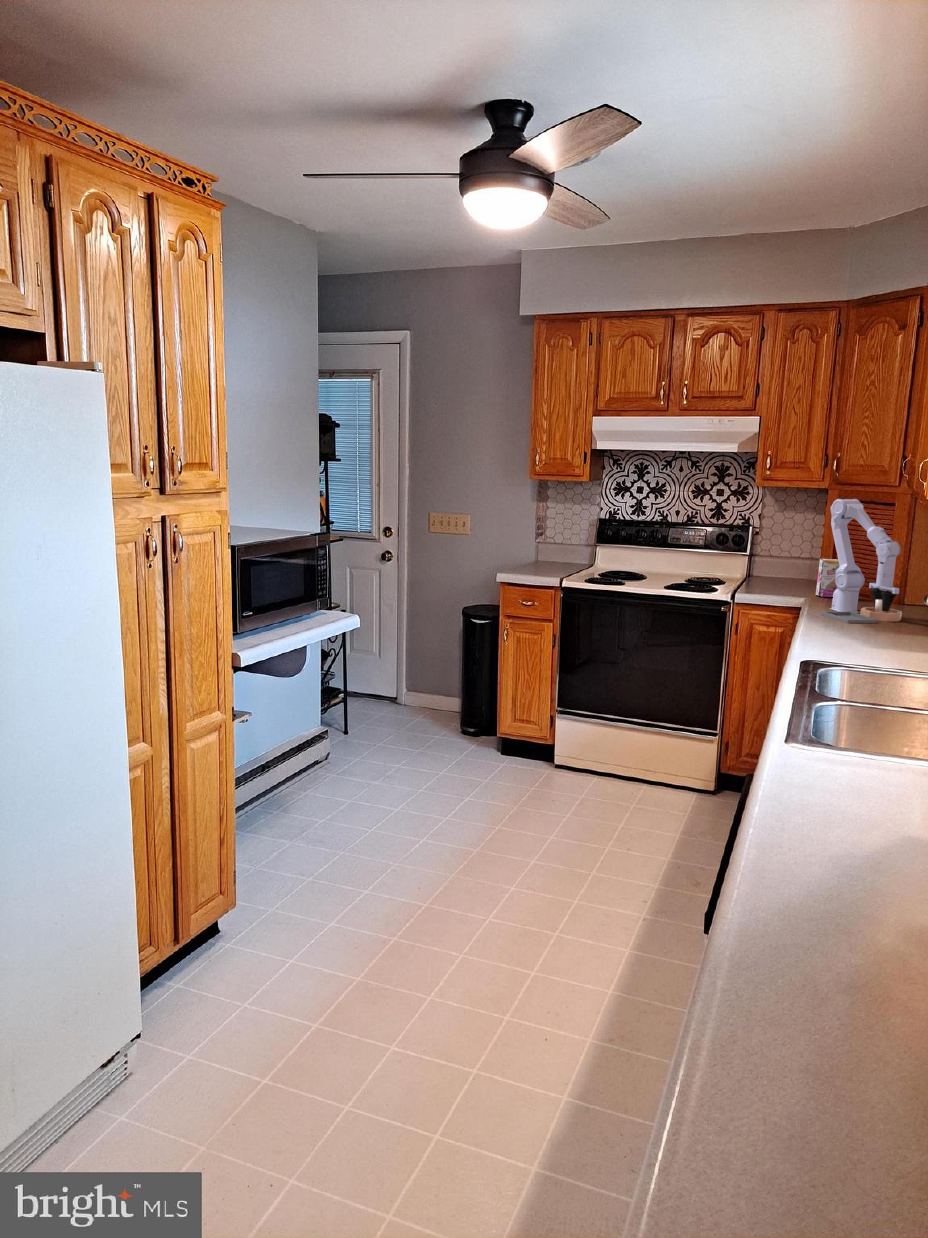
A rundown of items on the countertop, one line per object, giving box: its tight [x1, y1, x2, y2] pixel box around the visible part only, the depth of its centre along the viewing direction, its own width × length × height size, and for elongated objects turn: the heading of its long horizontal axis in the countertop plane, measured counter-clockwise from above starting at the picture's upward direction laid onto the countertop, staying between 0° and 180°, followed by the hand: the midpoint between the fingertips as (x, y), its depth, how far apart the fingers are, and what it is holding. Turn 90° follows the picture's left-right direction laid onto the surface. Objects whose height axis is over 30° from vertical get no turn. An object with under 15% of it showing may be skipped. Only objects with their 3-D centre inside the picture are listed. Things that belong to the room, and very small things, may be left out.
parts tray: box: [821, 611, 878, 624], centre depth 329 cm, size 16×12×2 cm
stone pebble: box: [875, 599, 887, 613], centre depth 332 cm, size 4×4×5 cm
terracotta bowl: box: [859, 606, 903, 622], centre depth 332 cm, size 13×13×4 cm
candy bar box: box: [815, 558, 840, 598], centre depth 382 cm, size 11×5×16 cm, turn 84°
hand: (881, 610), depth 332 cm, fingers closed on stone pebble, 4 cm apart
